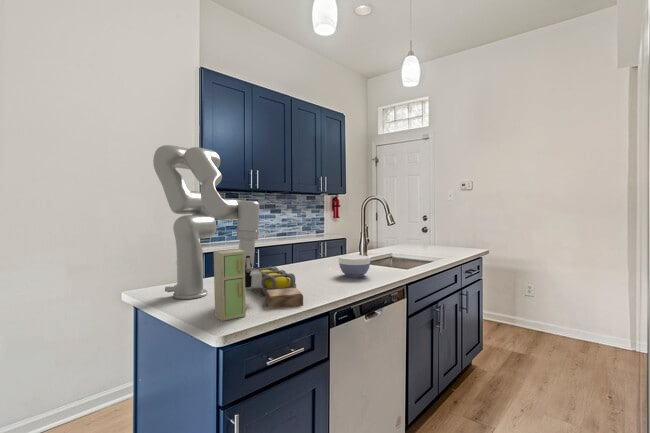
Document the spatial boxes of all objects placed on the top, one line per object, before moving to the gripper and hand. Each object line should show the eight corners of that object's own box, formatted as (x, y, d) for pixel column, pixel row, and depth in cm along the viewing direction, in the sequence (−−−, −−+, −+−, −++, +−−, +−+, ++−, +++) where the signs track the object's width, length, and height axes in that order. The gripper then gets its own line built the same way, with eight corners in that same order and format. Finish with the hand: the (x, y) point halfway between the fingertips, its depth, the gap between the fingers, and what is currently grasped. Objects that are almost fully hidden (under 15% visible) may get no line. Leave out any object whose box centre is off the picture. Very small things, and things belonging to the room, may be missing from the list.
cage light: (273, 264, 163) (302, 275, 137) (274, 281, 163) (302, 295, 137) (243, 267, 155) (267, 279, 129) (243, 285, 156) (267, 300, 130)
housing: (231, 289, 120) (232, 275, 120) (227, 285, 126) (228, 271, 126) (262, 287, 125) (263, 274, 124) (257, 283, 131) (258, 270, 131)
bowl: (335, 273, 180) (335, 255, 180) (365, 272, 183) (365, 254, 183) (342, 279, 165) (342, 259, 164) (374, 278, 168) (374, 258, 167)
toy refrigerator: (222, 322, 105) (221, 253, 104) (214, 316, 111) (213, 250, 110) (246, 317, 110) (246, 251, 109) (238, 311, 115) (237, 248, 115)
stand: (269, 308, 119) (269, 296, 119) (265, 300, 129) (265, 290, 129) (303, 305, 123) (303, 293, 123) (296, 298, 132) (296, 287, 132)
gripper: (235, 232, 131) (233, 278, 132) (238, 238, 115) (236, 291, 116) (255, 232, 134) (253, 278, 135) (261, 238, 117) (259, 290, 118)
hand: (245, 283), depth 125 cm, fingers closed on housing, 6 cm apart
